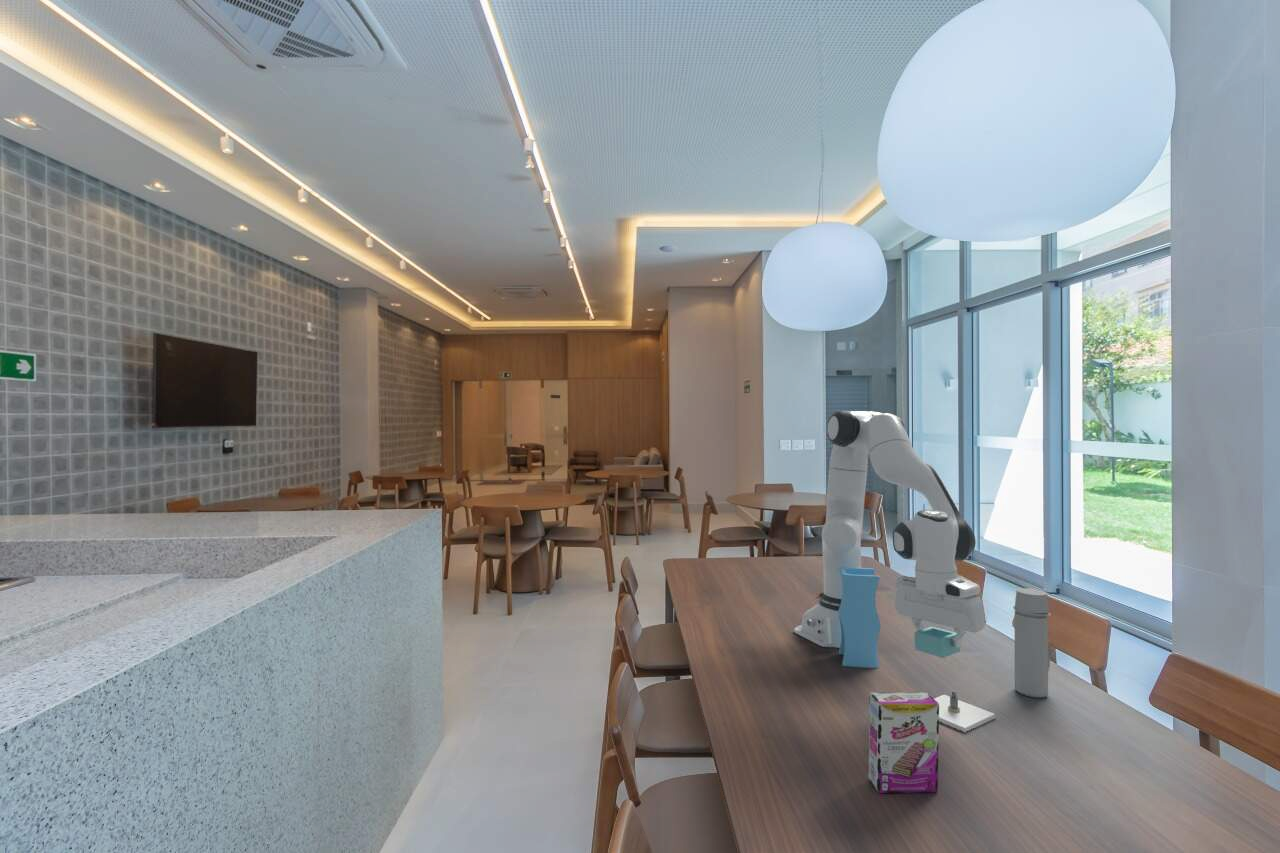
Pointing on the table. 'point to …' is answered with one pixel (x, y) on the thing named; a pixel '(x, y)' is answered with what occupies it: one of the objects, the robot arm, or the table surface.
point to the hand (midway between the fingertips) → (938, 641)
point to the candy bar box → (903, 742)
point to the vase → (859, 617)
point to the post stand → (961, 713)
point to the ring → (935, 642)
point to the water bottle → (1031, 642)
